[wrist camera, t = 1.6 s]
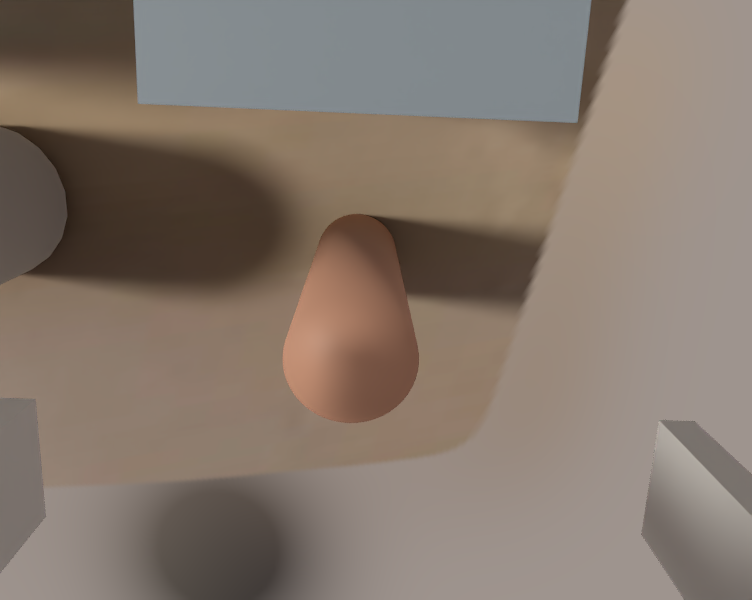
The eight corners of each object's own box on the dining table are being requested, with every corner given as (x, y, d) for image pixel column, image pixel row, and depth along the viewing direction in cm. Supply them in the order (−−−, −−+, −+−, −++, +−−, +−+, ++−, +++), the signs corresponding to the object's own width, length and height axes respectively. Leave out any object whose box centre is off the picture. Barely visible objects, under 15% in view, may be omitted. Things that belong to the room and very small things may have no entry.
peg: (318, 212, 35) (283, 292, 20) (397, 215, 35) (423, 297, 20) (317, 289, 36) (282, 420, 21) (393, 291, 37) (415, 424, 21)
